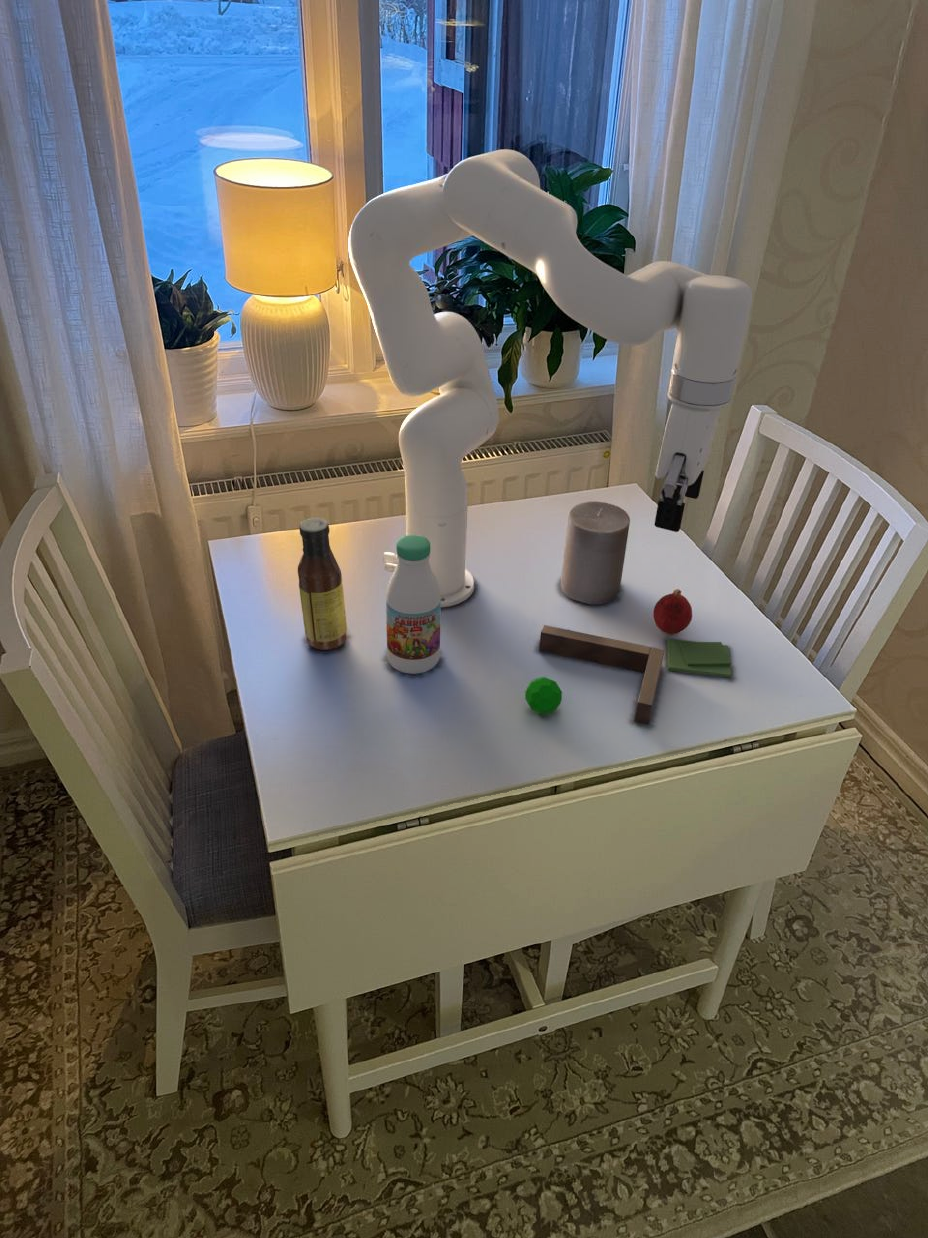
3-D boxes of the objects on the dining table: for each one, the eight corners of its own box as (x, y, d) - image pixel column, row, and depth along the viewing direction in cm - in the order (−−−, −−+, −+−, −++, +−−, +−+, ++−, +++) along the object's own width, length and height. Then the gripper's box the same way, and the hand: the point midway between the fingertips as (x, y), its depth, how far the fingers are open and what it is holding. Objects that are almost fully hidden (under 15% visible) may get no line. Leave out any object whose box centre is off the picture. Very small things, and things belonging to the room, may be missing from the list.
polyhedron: (529, 693, 131) (531, 667, 128) (563, 701, 130) (566, 674, 127) (520, 716, 127) (523, 689, 125) (555, 724, 126) (559, 697, 123)
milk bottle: (379, 649, 138) (376, 533, 127) (428, 638, 141) (429, 523, 129) (397, 680, 133) (396, 562, 121) (447, 668, 135) (451, 551, 124)
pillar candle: (603, 568, 158) (614, 490, 149) (629, 600, 151) (642, 519, 142) (550, 577, 156) (558, 497, 147) (574, 610, 148) (584, 528, 139)
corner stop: (520, 696, 131) (522, 677, 129) (541, 643, 141) (543, 624, 139) (648, 725, 127) (652, 705, 125) (661, 668, 137) (664, 649, 135)
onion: (687, 647, 141) (696, 604, 136) (649, 641, 142) (657, 598, 137) (687, 625, 146) (696, 582, 141) (650, 620, 147) (658, 577, 142)
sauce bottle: (355, 634, 141) (349, 519, 130) (333, 657, 137) (325, 540, 125) (318, 622, 143) (309, 509, 132) (295, 644, 139) (284, 529, 127)
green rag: (668, 670, 136) (669, 664, 136) (667, 641, 142) (668, 635, 142) (730, 678, 135) (732, 672, 135) (727, 648, 141) (728, 642, 141)
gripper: (687, 357, 119) (666, 478, 129) (650, 405, 106) (629, 534, 116) (746, 368, 116) (720, 490, 127) (715, 418, 104) (688, 549, 114)
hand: (676, 511), depth 121 cm, fingers open, 9 cm apart
